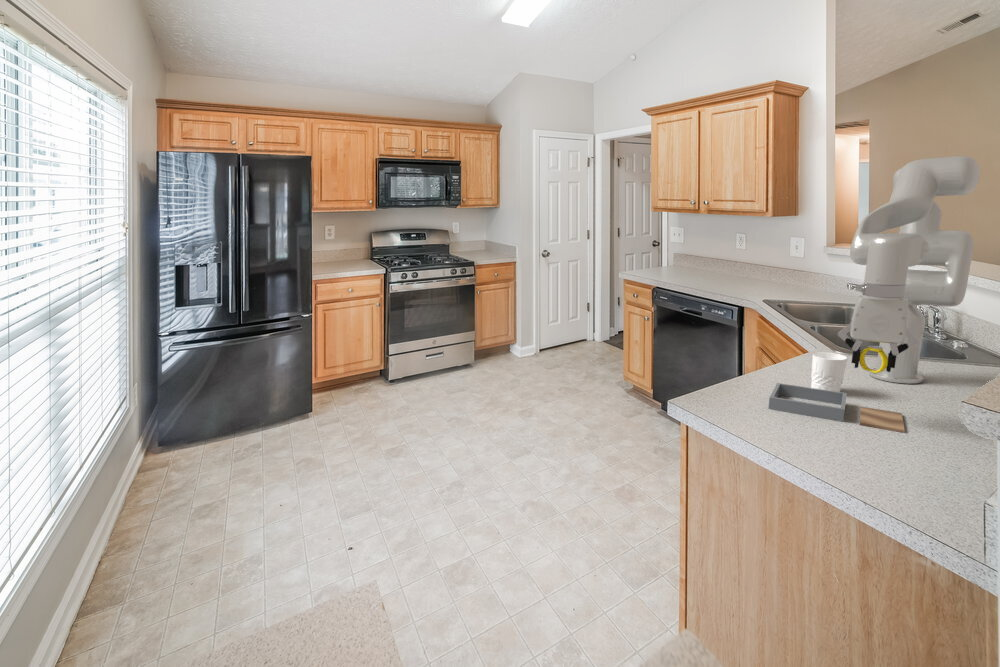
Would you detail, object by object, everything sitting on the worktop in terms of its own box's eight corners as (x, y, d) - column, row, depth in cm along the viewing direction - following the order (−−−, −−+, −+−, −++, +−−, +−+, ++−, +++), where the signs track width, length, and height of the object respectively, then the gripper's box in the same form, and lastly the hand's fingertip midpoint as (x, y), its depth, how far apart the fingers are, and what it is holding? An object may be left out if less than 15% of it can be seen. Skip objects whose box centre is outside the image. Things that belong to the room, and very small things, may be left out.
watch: (887, 375, 115) (893, 350, 113) (878, 376, 114) (883, 351, 112) (863, 366, 120) (868, 342, 119) (854, 367, 120) (859, 343, 118)
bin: (776, 393, 137) (777, 382, 136) (845, 404, 128) (846, 393, 127) (768, 408, 126) (769, 397, 125) (843, 421, 117) (844, 409, 116)
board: (860, 408, 125) (860, 406, 124) (901, 415, 120) (901, 413, 120) (859, 424, 115) (860, 422, 115) (904, 432, 110) (904, 430, 110)
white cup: (847, 396, 133) (852, 360, 131) (815, 395, 135) (819, 359, 133) (834, 387, 141) (839, 352, 139) (804, 385, 142) (808, 351, 140)
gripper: (836, 291, 115) (827, 367, 119) (934, 296, 105) (920, 378, 109) (838, 287, 121) (829, 359, 125) (931, 291, 111) (918, 370, 115)
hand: (872, 367), depth 117 cm, fingers closed on watch, 5 cm apart
